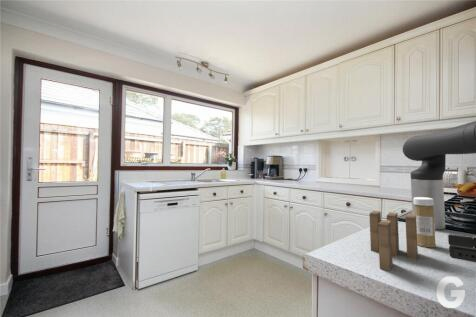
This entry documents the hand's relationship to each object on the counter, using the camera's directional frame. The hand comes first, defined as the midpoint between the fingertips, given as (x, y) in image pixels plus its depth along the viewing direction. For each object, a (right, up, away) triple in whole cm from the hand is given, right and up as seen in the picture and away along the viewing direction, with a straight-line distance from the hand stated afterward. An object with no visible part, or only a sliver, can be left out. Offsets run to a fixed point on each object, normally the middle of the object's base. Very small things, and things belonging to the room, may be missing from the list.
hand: (448, 244), depth 46 cm
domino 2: (-1, -8, +15) cm, 17 cm away
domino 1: (-8, -8, +7) cm, 13 cm away
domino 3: (+2, -7, +13) cm, 15 cm away
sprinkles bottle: (+11, -8, +20) cm, 24 cm away
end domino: (-4, -8, +18) cm, 20 cm away
